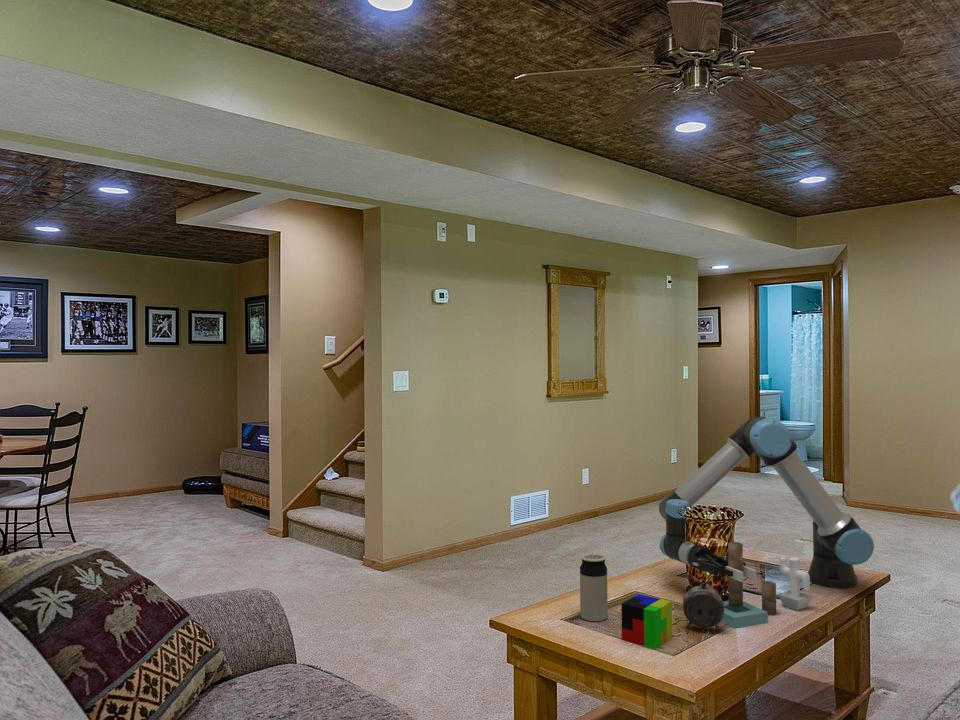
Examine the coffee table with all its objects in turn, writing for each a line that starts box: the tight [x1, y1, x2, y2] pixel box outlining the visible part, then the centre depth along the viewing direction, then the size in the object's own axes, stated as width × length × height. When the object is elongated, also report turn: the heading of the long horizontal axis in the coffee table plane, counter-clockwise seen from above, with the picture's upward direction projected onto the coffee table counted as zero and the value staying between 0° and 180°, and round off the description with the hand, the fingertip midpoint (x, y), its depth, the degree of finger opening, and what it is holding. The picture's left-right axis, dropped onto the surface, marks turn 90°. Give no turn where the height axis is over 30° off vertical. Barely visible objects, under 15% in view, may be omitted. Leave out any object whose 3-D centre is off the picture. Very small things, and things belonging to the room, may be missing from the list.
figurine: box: [776, 556, 814, 611], centre depth 223 cm, size 7×9×15 cm
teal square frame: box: [720, 600, 769, 629], centre depth 214 cm, size 12×12×3 cm
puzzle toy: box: [620, 593, 673, 650], centre depth 199 cm, size 10×10×10 cm
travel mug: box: [579, 553, 609, 623], centre depth 216 cm, size 8×8×18 cm
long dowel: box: [727, 541, 744, 607], centre depth 214 cm, size 4×4×18 cm
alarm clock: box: [682, 572, 724, 634], centre depth 205 cm, size 11×5×16 cm, turn 74°
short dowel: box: [761, 580, 777, 616], centre depth 218 cm, size 4×4×9 cm
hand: (748, 576), depth 209 cm, fingers closed on long dowel, 4 cm apart
